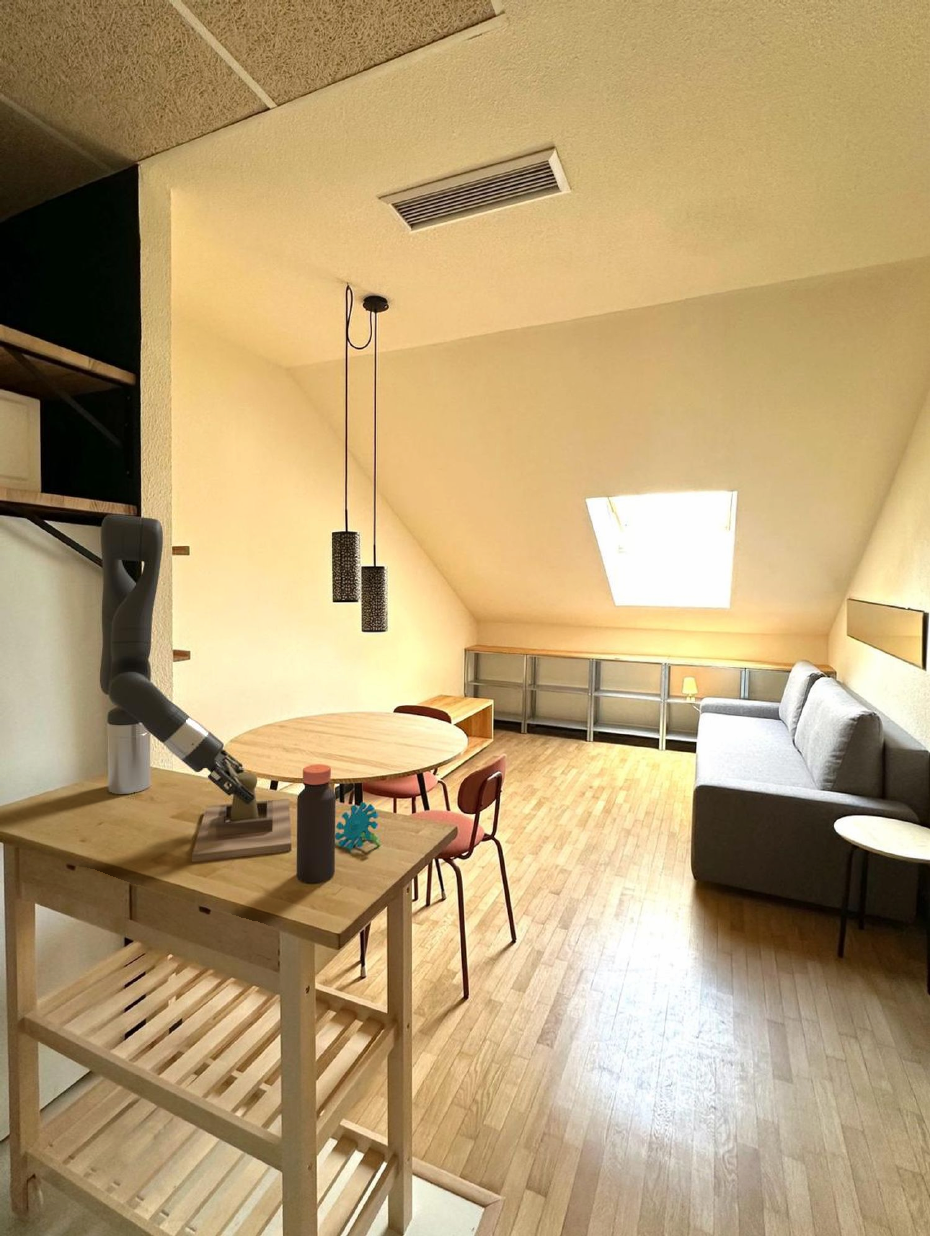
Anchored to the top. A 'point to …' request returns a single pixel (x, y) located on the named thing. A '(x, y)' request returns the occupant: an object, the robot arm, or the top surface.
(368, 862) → the top surface
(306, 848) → the bottle
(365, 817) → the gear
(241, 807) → the cork
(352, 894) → the top surface
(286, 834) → the jig board
